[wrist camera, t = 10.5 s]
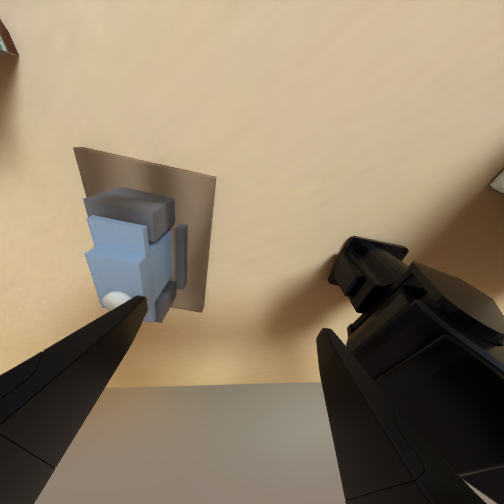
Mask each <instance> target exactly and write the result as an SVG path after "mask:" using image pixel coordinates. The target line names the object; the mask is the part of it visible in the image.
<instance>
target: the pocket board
mask: <svg viewBox="0 0 504 504" xmlns="http://www.w3.org/2000/svg"><path fill="white" fill-rule="evenodd" d="M73 149H74V153H75V156H76V160H77V164H78V168H79V171H80V175H81V179H82V182H83V186H84V190H85V193H86V197H87V198H84V199H83V200H84V204H85V208H86V211H87V215H88V217H90V216H92V215H95V216H100V217H105V218H110V219H114V220H119V221H124V222H129V223H134V224H139V225H144V226H147V232H148V241H153V242H155V241H156V240H157V239H158V238H159V237H160V236H161V235H162V234H163V233H165V232H166V231H167V230H170V231H172V268H173V275H172V277H171V278H170V280H169V281H168V283H167V284H166V286H165V287H164V289H163V290H162V292H161V293H160V295H159V296H158V298H157V299H156V301H155V310H156V319H155V322H161V323H162V321H163V319H164V317H165V316H166V314H167V312H168V310H169V308H170V307H172V308H178V309H184V310H189V311H195V312H201V313H202V311H203V308H204V301H205V290H206V280H207V269H208V259H209V249H210V238H211V228H212V217H213V207H214V196H215V186H216V177H214V176H210V175H205V174H201V173H196V172H192V171H187V170H183V169H179V168H174V167H170V166H165V165H161V164H156V163H152V162H147V161H143V160H138V159H134V158H129V157H125V156H120V155H116V154H111V153H107V152H102V151H98V150H93V149H89V148H84V147H74V148H73Z"/></svg>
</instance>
